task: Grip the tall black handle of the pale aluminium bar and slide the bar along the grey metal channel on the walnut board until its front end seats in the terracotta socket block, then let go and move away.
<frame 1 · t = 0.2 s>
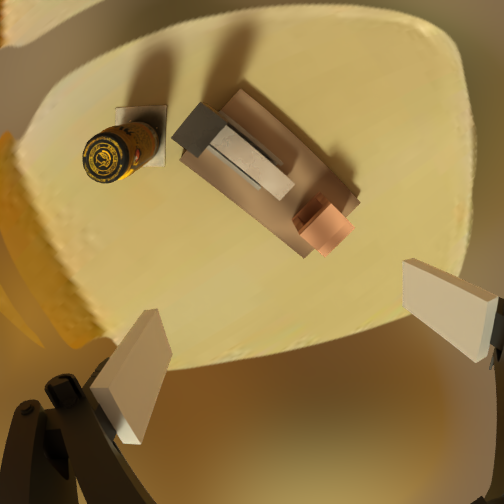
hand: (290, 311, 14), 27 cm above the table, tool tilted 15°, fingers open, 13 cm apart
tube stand: (274, 177, 38), on the table
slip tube: (244, 158, 29), point 8 cm above the table, slide at 0.0 cm
condiment: (140, 136, 34), on the table
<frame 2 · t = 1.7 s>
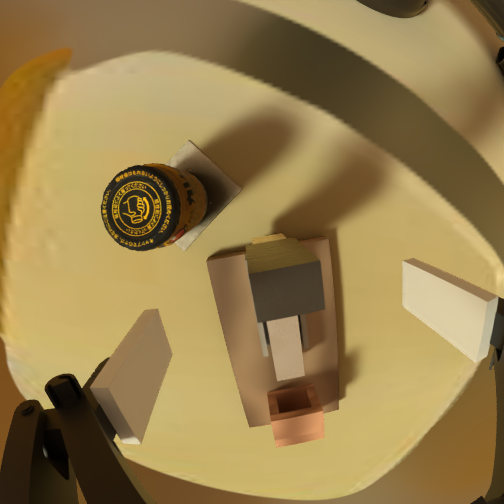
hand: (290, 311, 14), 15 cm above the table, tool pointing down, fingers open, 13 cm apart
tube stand: (282, 344, 31), on the table
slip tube: (286, 332, 22), point 8 cm above the table, slide at 0.0 cm
condiment: (185, 195, 27), on the table
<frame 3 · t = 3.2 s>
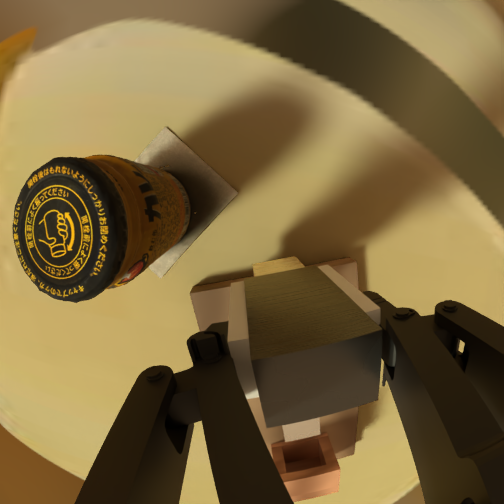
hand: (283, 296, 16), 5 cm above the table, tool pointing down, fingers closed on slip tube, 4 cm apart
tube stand: (291, 391, 23), on the table
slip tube: (303, 399, 14), point 8 cm above the table, slide at 0.0 cm, touching gripper
condiment: (161, 202, 20), on the table
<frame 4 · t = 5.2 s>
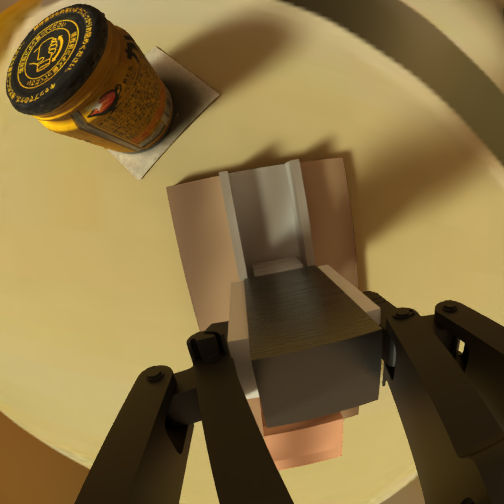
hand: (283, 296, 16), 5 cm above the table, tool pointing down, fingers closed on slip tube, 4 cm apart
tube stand: (280, 321, 22), on the table
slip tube: (303, 399, 14), point 8 cm above the table, slide at 7.4 cm, touching gripper
condiment: (146, 109, 18), on the table
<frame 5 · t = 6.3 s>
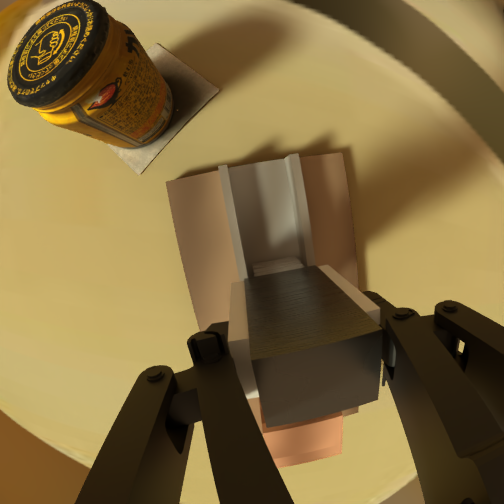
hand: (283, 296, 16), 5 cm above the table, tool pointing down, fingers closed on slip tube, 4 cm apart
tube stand: (280, 317, 22), on the table
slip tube: (303, 399, 14), point 8 cm above the table, slide at 7.8 cm, touching gripper
condiment: (147, 104, 18), on the table
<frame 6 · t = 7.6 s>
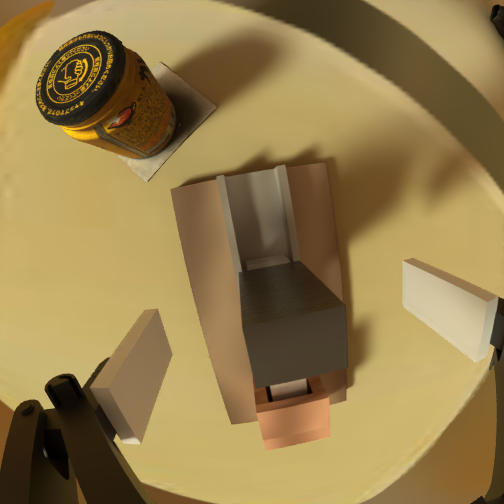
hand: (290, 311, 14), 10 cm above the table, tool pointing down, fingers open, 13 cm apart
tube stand: (271, 310, 24), on the table
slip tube: (290, 378, 17), point 8 cm above the table, slide at 7.8 cm
condiment: (152, 119, 21), on the table
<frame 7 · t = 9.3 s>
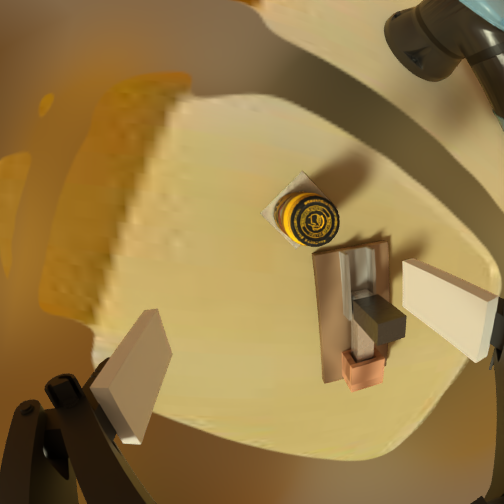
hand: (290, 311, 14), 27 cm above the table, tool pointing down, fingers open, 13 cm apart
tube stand: (353, 315, 43), on the table
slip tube: (372, 347, 36), point 8 cm above the table, slide at 7.8 cm
condiment: (298, 210, 40), on the table
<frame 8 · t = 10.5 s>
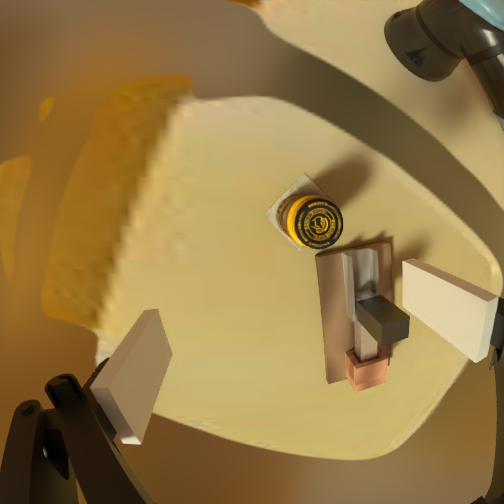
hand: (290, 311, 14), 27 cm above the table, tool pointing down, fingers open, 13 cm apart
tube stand: (356, 316, 43), on the table
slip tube: (376, 347, 36), point 8 cm above the table, slide at 7.8 cm
condiment: (301, 212, 40), on the table
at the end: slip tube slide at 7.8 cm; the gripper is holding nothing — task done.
